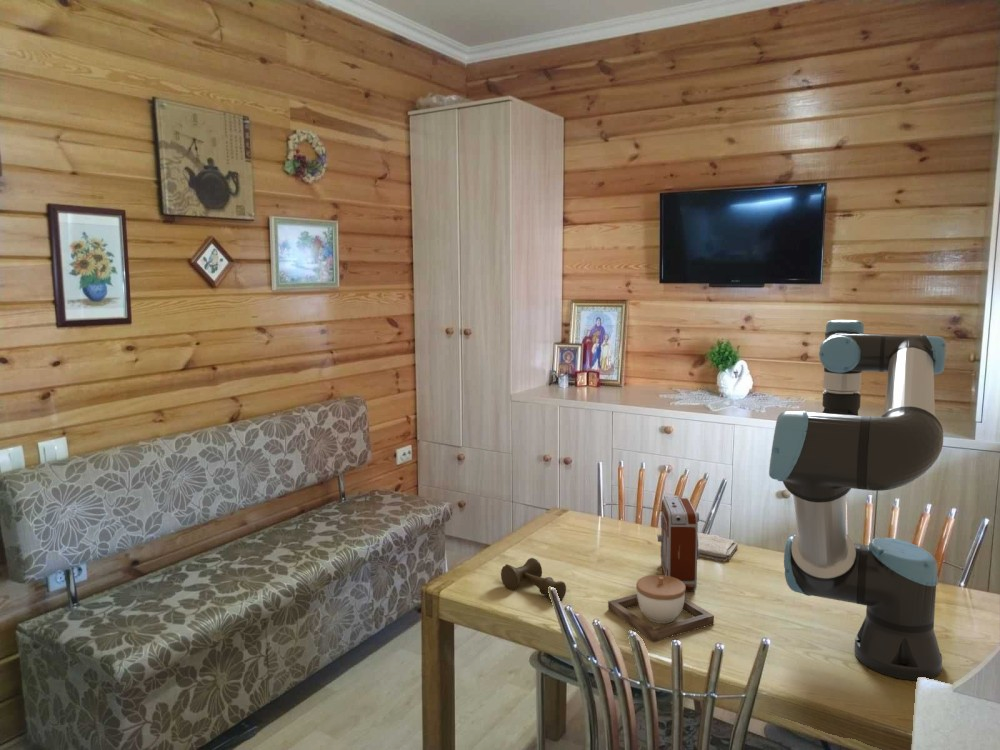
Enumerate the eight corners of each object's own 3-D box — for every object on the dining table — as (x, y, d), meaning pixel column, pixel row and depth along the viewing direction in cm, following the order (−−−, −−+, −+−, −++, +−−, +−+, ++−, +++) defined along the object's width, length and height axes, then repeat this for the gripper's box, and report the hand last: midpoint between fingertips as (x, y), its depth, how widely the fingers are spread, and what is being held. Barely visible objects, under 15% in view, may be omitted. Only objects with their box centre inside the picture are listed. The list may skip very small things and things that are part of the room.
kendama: (545, 610, 167) (490, 580, 182) (574, 598, 173) (519, 571, 189) (545, 586, 166) (491, 558, 181) (574, 575, 172) (519, 549, 188)
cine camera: (689, 561, 191) (690, 488, 188) (702, 594, 172) (703, 513, 169) (654, 560, 192) (654, 488, 189) (663, 593, 173) (663, 513, 170)
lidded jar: (633, 625, 158) (634, 585, 157) (638, 603, 168) (638, 565, 167) (684, 631, 155) (684, 590, 154) (686, 608, 165) (686, 570, 164)
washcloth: (728, 564, 190) (729, 553, 190) (662, 551, 199) (662, 541, 199) (739, 548, 200) (739, 538, 200) (675, 537, 209) (675, 527, 209)
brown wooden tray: (713, 624, 158) (713, 615, 158) (652, 642, 151) (652, 633, 151) (665, 594, 173) (666, 586, 172) (608, 609, 166) (608, 601, 165)
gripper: (880, 393, 154) (874, 499, 157) (828, 384, 165) (824, 484, 169) (855, 396, 150) (850, 505, 154) (805, 388, 162) (801, 489, 166)
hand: (836, 494), depth 161 cm, fingers closed
